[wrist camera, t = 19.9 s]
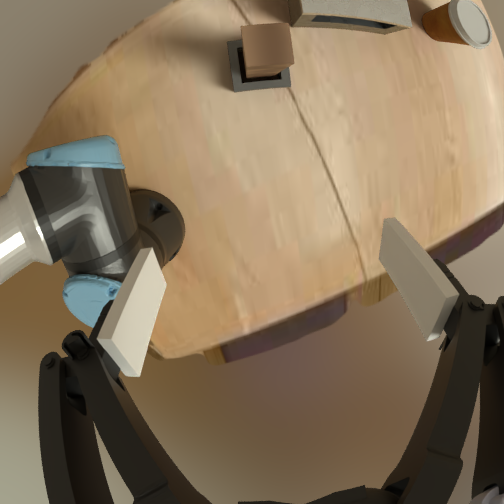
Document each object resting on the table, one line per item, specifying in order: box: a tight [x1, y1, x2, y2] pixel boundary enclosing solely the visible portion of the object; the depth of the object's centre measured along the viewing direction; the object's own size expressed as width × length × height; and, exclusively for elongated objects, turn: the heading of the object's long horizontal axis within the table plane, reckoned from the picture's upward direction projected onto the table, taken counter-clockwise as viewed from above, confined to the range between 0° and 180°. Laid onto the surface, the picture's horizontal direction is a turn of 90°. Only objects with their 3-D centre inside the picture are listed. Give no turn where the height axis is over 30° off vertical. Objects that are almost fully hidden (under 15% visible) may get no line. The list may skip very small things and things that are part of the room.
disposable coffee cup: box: [422, 0, 492, 49], centre depth 21 cm, size 10×10×12 cm
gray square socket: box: [227, 40, 291, 92], centre depth 33 cm, size 8×8×4 cm
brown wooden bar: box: [241, 23, 294, 79], centre depth 26 cm, size 4×4×20 cm
